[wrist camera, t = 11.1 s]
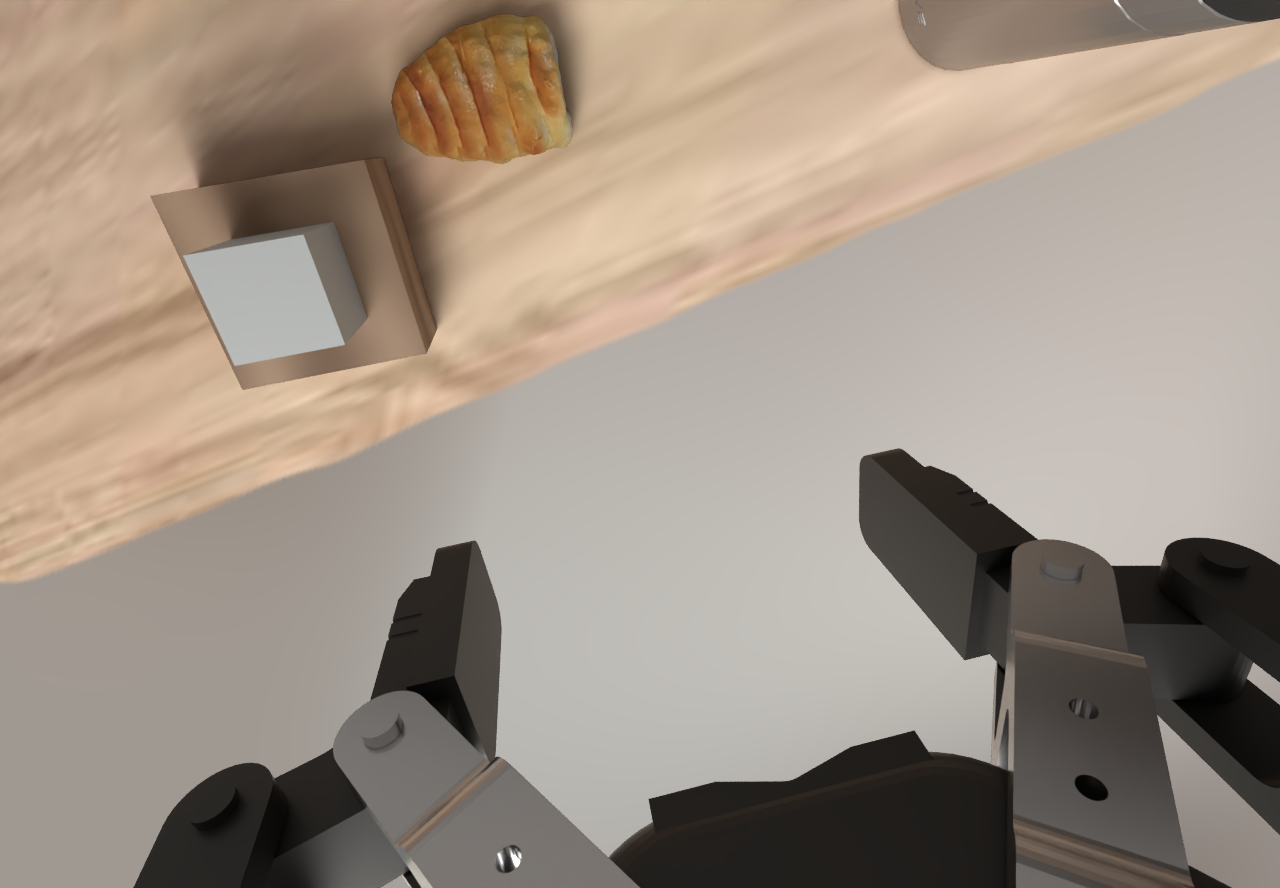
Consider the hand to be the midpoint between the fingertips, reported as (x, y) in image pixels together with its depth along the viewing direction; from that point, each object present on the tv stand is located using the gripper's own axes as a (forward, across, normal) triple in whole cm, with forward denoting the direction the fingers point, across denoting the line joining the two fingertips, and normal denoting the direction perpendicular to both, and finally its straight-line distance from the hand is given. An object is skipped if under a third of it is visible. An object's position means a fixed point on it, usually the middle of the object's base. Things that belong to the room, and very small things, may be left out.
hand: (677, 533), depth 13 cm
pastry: (+30, +3, -10) cm, 32 cm away
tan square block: (+30, +14, -3) cm, 33 cm away
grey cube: (+25, +14, -3) cm, 29 cm away
